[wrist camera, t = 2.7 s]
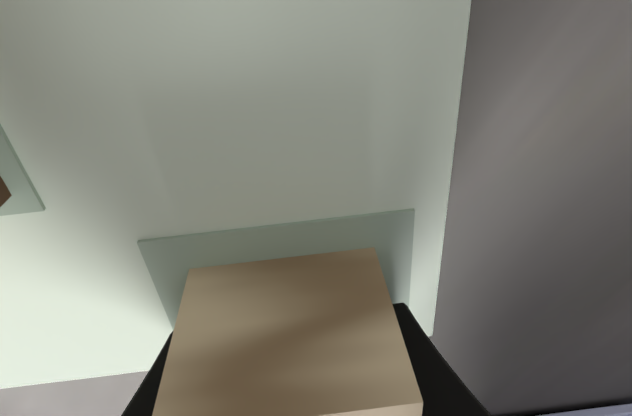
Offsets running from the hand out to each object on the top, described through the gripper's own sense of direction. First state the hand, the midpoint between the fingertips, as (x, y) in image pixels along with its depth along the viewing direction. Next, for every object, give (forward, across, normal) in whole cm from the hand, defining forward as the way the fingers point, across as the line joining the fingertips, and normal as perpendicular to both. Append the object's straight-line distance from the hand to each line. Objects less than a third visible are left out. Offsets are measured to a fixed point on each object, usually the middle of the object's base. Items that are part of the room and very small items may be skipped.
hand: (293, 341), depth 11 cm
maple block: (+1, 0, 0) cm, 1 cm away
